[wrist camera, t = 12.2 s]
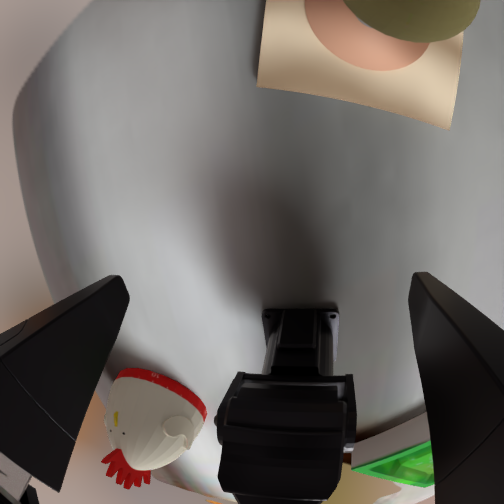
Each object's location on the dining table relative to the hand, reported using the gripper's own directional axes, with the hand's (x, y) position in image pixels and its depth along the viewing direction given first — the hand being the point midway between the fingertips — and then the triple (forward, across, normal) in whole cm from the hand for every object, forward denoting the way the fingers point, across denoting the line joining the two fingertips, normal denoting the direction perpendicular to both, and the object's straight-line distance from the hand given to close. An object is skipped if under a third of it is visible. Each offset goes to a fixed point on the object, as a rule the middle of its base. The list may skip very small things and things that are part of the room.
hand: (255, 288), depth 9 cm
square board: (+13, -6, -10) cm, 17 cm away
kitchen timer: (+13, +20, +30) cm, 38 cm away
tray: (+14, -25, +40) cm, 49 cm away
